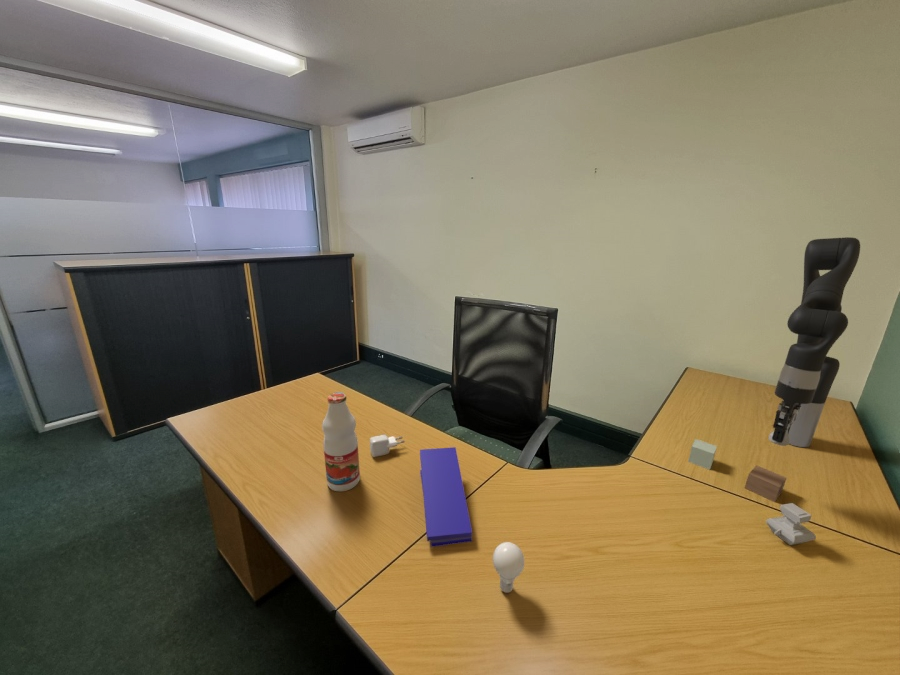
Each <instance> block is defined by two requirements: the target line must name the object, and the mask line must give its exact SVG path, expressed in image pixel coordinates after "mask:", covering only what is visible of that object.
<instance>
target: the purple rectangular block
mask: <svg viewBox="0 0 900 675" xmlns="http://www.w3.org/2000/svg"><path fill="white" fill-rule="evenodd" d="M419 457H420V458H419V459H420V478H421V479H420V481H421V485H422V487H421V488H422V493H423V494H422V496H423V506H424V518H425V530H426V541H427V542H430V547H432V548H433V547H439V546H440V547H441V546H446V545H447V546H449V545H455V544H462V543H469V542H472V541H473V530H472V524H471V520H470V519H471V518H470V514H469V509H468V504H467V499H466V494H465V489H464V484H463V478H462V474H461V468H460V462H459V458H458V454H457V448H456V446H455V447H454V446H453V447H440V448H438V447H437V448H425V449H420V450H419Z"/></svg>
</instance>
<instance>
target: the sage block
mask: <svg viewBox="0 0 900 675" xmlns="http://www.w3.org/2000/svg"><path fill="white" fill-rule="evenodd" d="M717 448H718V445H715V444H711V443H710V442H706V441H703V440H701V439H697V438H695V439H694V442H693V443H692V445H691V448H690V454H689V457H688V461H687V462H688V463H691V464H693V465H697V466H699V467H701V468H705V469H706V470H709V471H710V470H711V468H712V466H713V462H714V460H715V456H716V455H715V454H716V451H717Z"/></svg>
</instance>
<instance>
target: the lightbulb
mask: <svg viewBox="0 0 900 675" xmlns="http://www.w3.org/2000/svg"><path fill="white" fill-rule="evenodd" d="M492 563H493V567H494V570H495V571H496V572H497V574H498V576H499V578H500V582H499V588H500V590H501V591H502V592H504V593H506V594H508V593H512V591H513V588H514V581H515V579H516V578H518V577H519V576H520V575H521V574H522V572H523V570H524V569H525V568H524V567H525V555H524V553H523V551H522V550H521V548H520V547H519V545H517V544H515V543H513V542H508V541H504V542H502V543H500V544H499V545H497V547H496V548H495V549H494V550H493V554H492Z"/></svg>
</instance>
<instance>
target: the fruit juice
mask: <svg viewBox="0 0 900 675" xmlns="http://www.w3.org/2000/svg"><path fill="white" fill-rule="evenodd" d="M327 403H328V407H327V412H326V414H325V417H324V419H323V421H322V424H321V428H322V432H323V435H324V438H323V454H324V464H325V465H324V466H325V474H326V484H327V486H328V488H329V489H330V490H332V491H333V492H334V491H335V492H346V491H350V490H351V489H353V488H355V487H356V486H357V485H358V483H359V481H360V478H361V476H360V474H361V472H360V460H359V458H360V457H359V441H358V437H357V433H356V432H355V430H356V428H357V427H356V426H357V422H356V418H355V416H354V414H352V413H351V410H350V409H349V406H348V405H347V395H346V393H344V392H334V393H331V394H329V395H328V396H327Z"/></svg>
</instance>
